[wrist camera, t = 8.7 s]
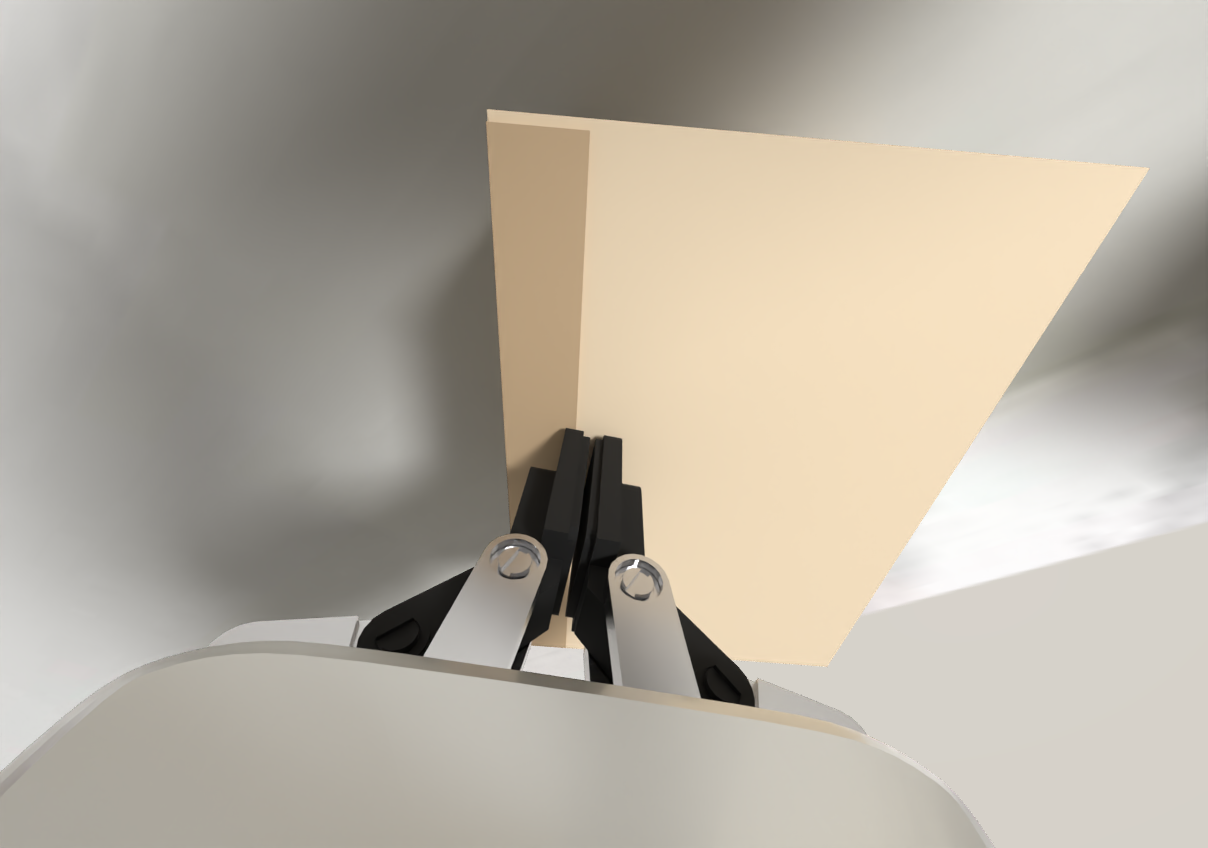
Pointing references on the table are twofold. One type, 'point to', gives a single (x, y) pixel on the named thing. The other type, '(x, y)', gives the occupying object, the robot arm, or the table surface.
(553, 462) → the lid
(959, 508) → the table surface
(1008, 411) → the table surface
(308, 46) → the table surface
